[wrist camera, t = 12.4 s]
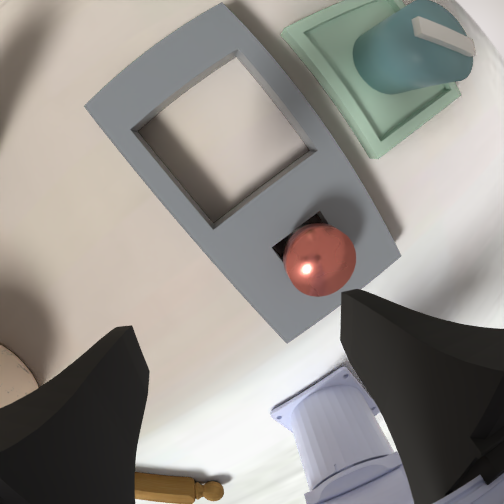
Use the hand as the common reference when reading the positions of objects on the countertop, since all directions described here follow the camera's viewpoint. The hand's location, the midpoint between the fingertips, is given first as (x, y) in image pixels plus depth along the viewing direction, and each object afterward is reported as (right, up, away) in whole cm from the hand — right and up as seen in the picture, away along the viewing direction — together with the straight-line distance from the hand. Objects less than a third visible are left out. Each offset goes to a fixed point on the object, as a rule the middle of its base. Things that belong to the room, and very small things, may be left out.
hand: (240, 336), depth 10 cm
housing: (0, +7, +8) cm, 11 cm away
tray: (+9, +16, +6) cm, 19 cm away
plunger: (+4, +3, +10) cm, 11 cm away
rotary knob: (+9, +15, +6) cm, 19 cm away
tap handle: (-18, -25, +17) cm, 35 cm away
